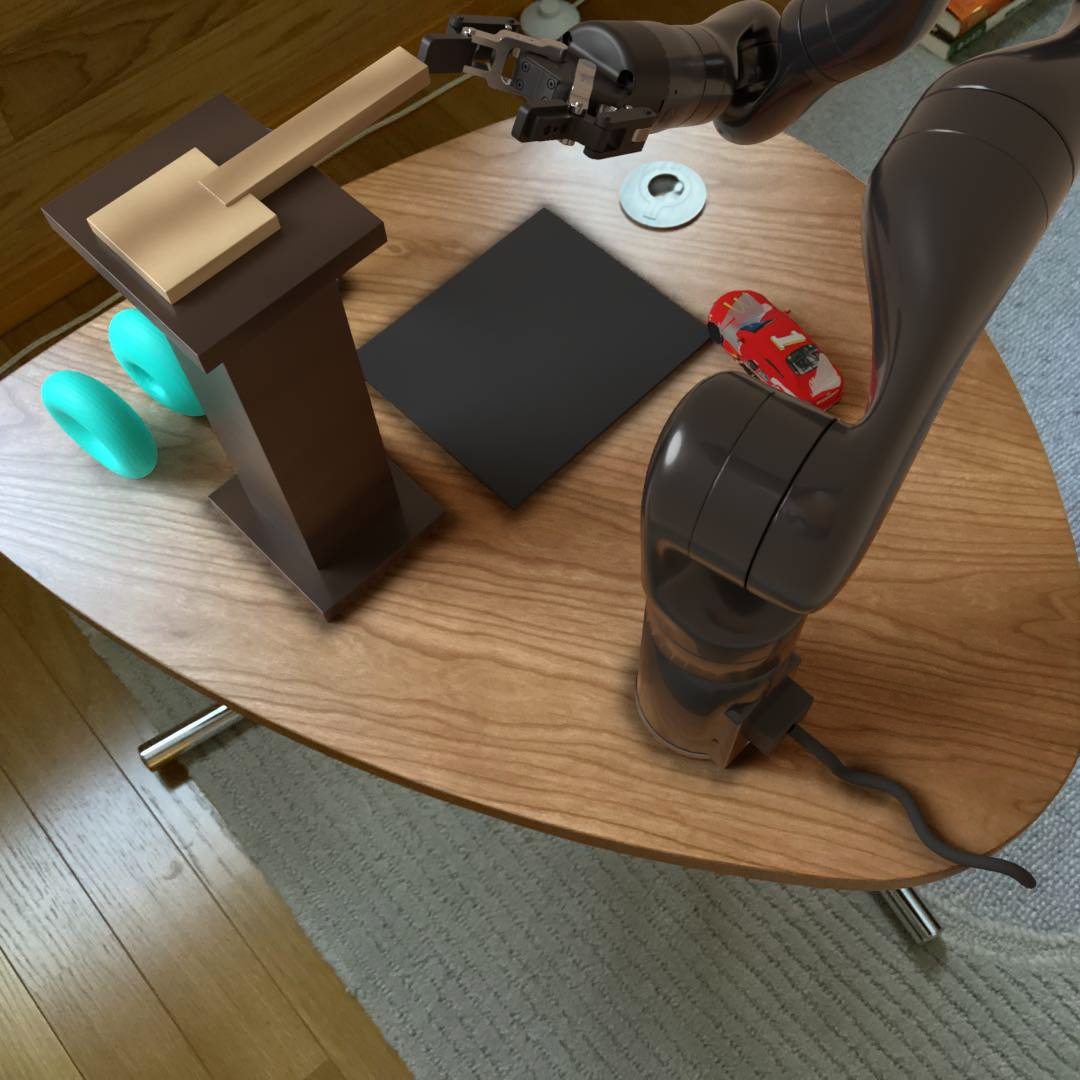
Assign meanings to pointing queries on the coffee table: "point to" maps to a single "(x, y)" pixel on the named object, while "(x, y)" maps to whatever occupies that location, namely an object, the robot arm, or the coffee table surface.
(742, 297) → the race car
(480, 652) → the coffee table surface
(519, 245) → the mat
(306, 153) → the spatula
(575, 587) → the coffee table surface
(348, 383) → the stand
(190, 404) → the donuts
